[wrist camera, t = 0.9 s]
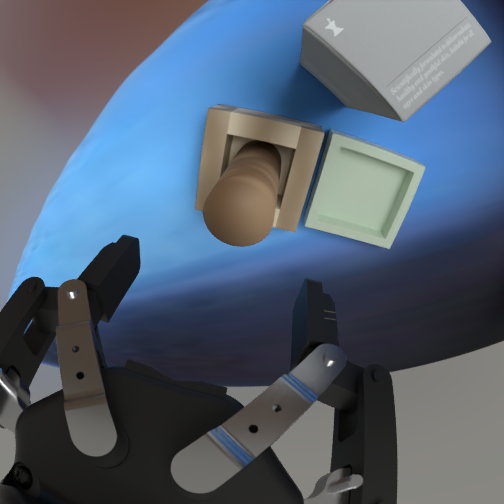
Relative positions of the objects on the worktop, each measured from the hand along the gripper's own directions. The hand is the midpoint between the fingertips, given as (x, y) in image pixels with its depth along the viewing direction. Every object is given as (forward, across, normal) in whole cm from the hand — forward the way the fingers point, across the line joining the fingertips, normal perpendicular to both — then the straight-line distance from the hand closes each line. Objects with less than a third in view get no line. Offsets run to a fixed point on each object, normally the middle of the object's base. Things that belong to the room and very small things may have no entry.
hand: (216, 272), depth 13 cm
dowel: (+18, 0, 0) cm, 18 cm away
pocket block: (+18, 0, 0) cm, 18 cm away
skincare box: (+18, -6, -13) cm, 23 cm away
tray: (+18, -11, 0) cm, 21 cm away
